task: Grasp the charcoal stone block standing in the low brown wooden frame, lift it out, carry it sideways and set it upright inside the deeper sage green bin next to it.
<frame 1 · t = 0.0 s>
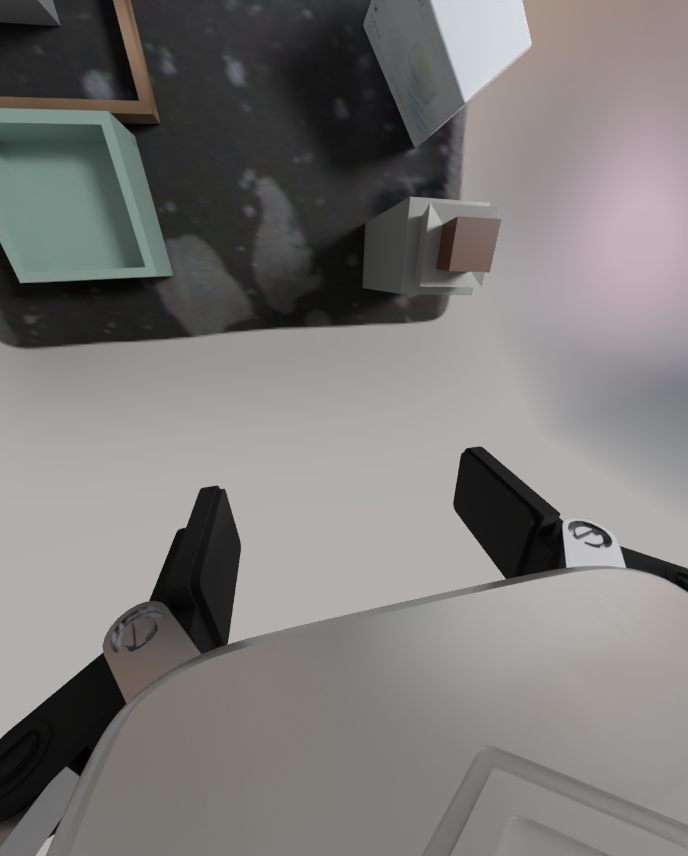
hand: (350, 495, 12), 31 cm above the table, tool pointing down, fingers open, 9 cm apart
skincare box: (413, 72, 30), on the table
sage green bin: (93, 213, 30), on the table
perfume bottle: (390, 257, 37), on the table
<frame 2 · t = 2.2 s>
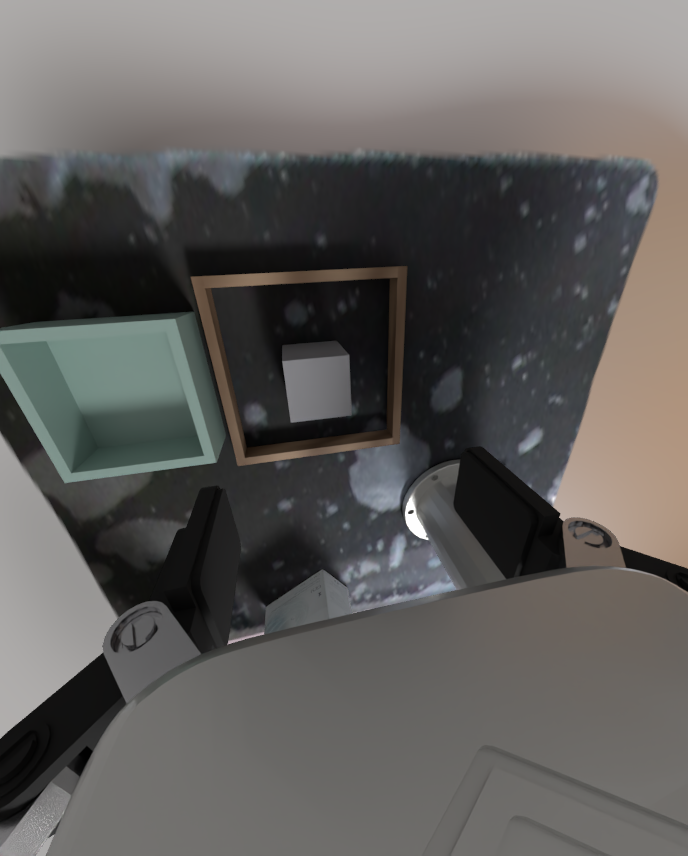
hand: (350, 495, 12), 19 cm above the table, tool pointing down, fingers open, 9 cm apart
skincare box: (306, 595, 43), on the table
brown wooden frame: (312, 369, 29), on the table
sage green bin: (143, 386, 26), on the table
stone block: (312, 369, 29), resting in brown wooden frame
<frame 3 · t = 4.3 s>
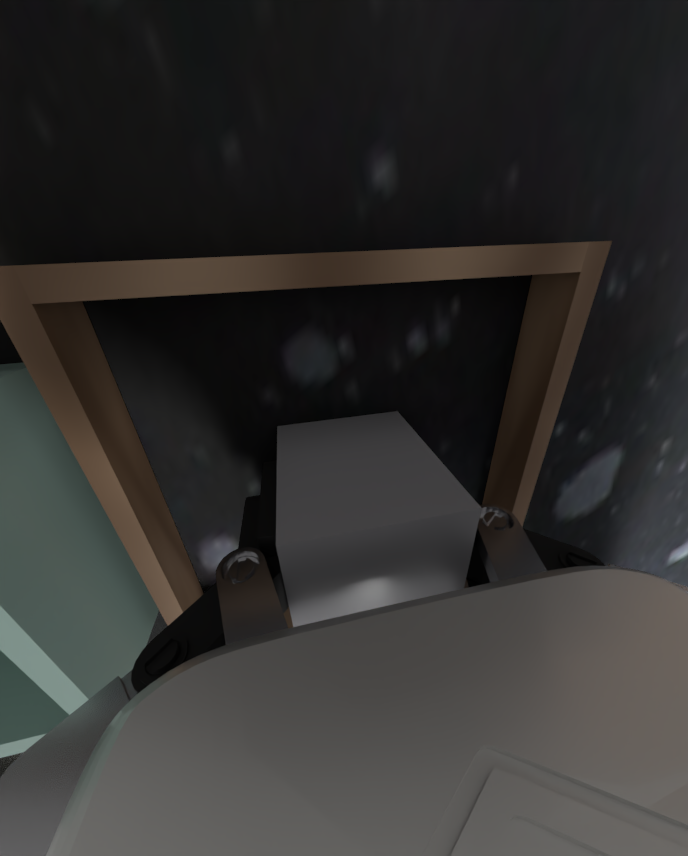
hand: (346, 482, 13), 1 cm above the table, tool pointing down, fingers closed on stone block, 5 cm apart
brown wooden frame: (342, 469, 13), on the table
stone block: (342, 468, 13), resting in brown wooden frame, touching gripper
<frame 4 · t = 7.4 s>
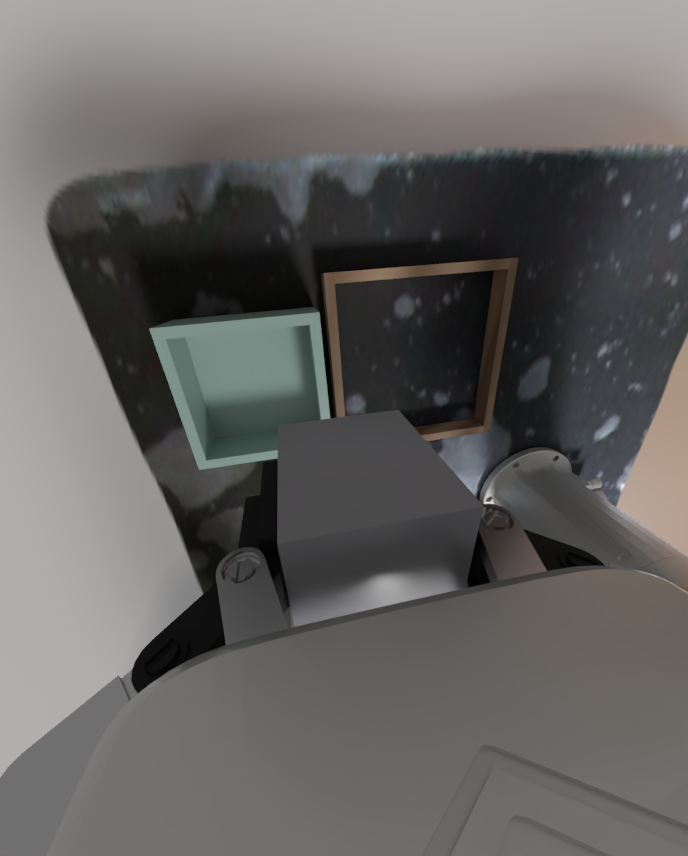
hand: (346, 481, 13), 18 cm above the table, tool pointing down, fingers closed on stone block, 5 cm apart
brown wooden frame: (412, 360, 30), on the table
sage green bin: (259, 378, 28), on the table
stone block: (342, 467, 13), point 17 cm above the table, touching gripper
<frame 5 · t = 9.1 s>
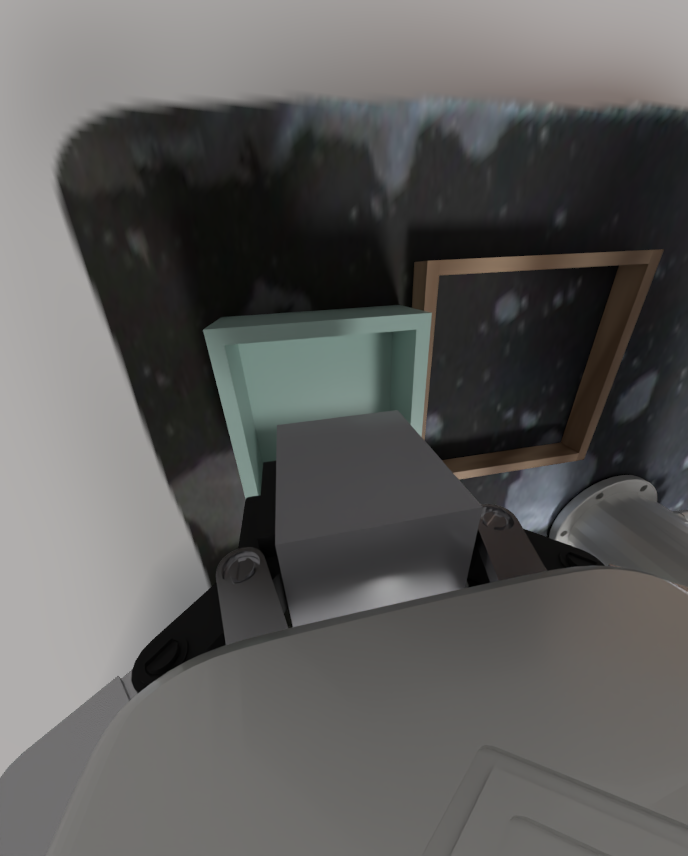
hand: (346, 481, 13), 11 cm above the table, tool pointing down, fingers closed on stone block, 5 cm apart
brown wooden frame: (505, 374, 24), on the table
sage green bin: (321, 394, 22), on the table
stone block: (342, 467, 13), point 10 cm above the table, touching gripper
when the fingers open (5 cm above the table, at t = 10.6 s): stone block drops 3 cm, resting on sage green bin.
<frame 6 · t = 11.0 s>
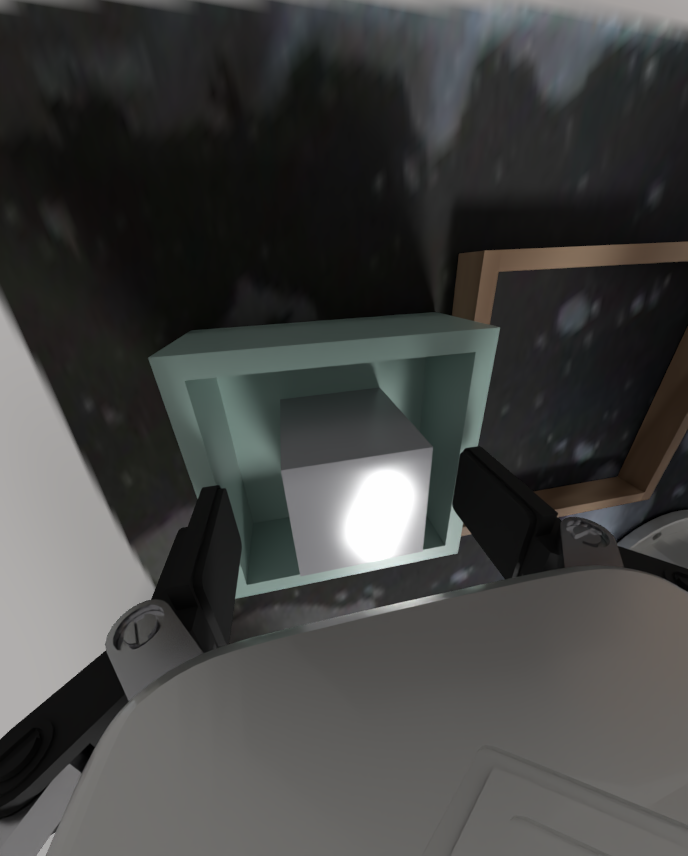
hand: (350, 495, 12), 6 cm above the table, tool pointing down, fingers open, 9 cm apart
brown wooden frame: (562, 398, 19), on the table
sage green bin: (329, 429, 17), on the table
stone block: (334, 437, 16), point 1 cm above the table, touching sage green bin
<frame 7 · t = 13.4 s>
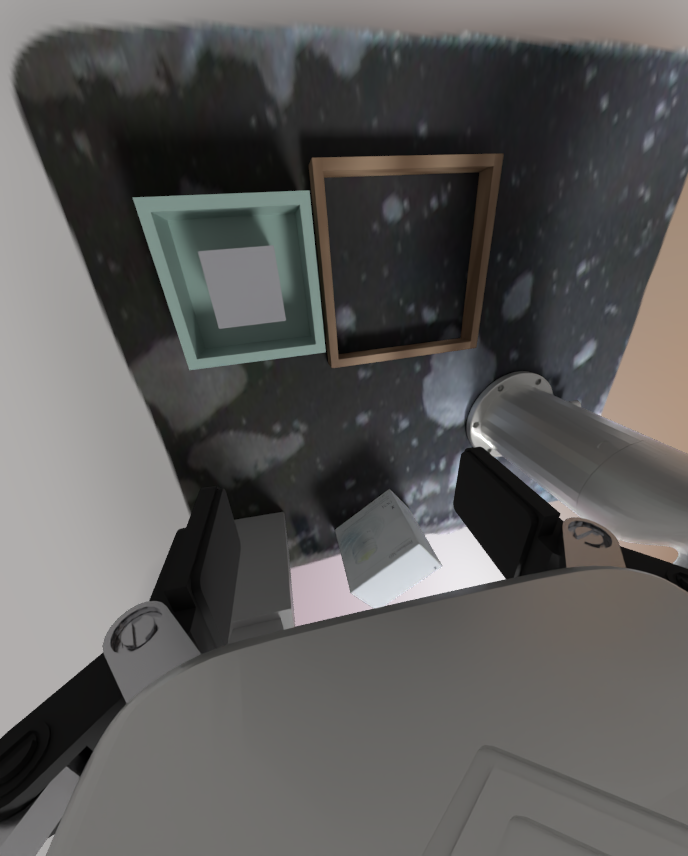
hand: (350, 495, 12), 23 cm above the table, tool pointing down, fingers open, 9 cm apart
skincare box: (371, 517, 45), on the table
brown wooden frame: (401, 270, 30), on the table
sage green bin: (247, 284, 28), on the table
stone block: (249, 284, 27), point 1 cm above the table, touching sage green bin
perfume bottle: (261, 532, 42), on the table
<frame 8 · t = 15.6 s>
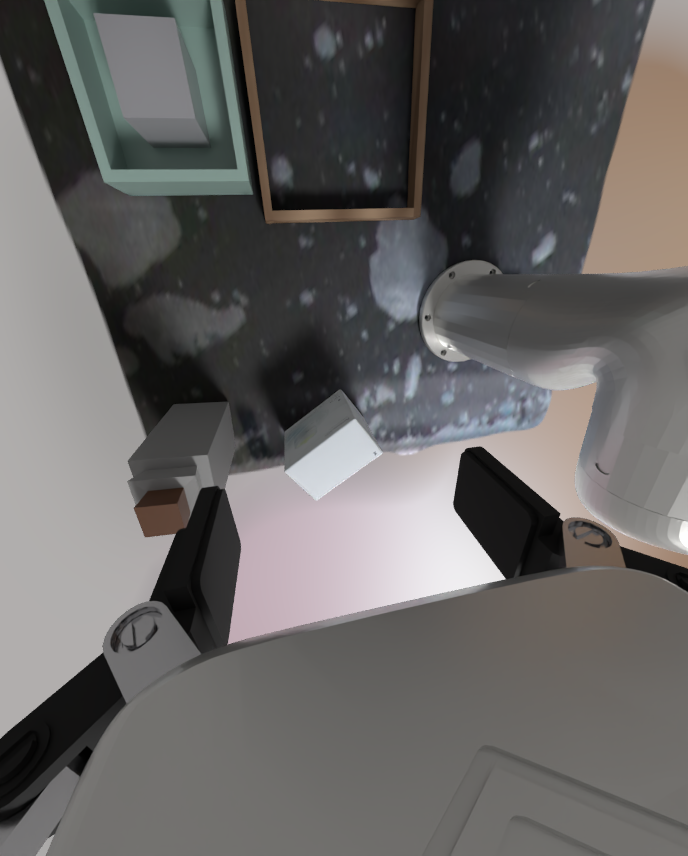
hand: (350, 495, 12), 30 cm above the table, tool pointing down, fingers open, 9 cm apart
skincare box: (323, 423, 44), on the table
brown wooden frame: (338, 119, 29), on the table
sage green bin: (175, 115, 27), on the table
stone block: (174, 110, 26), point 1 cm above the table, touching sage green bin
perfume bottle: (206, 425, 41), on the table
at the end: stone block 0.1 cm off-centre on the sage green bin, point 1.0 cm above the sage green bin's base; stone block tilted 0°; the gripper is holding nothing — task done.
